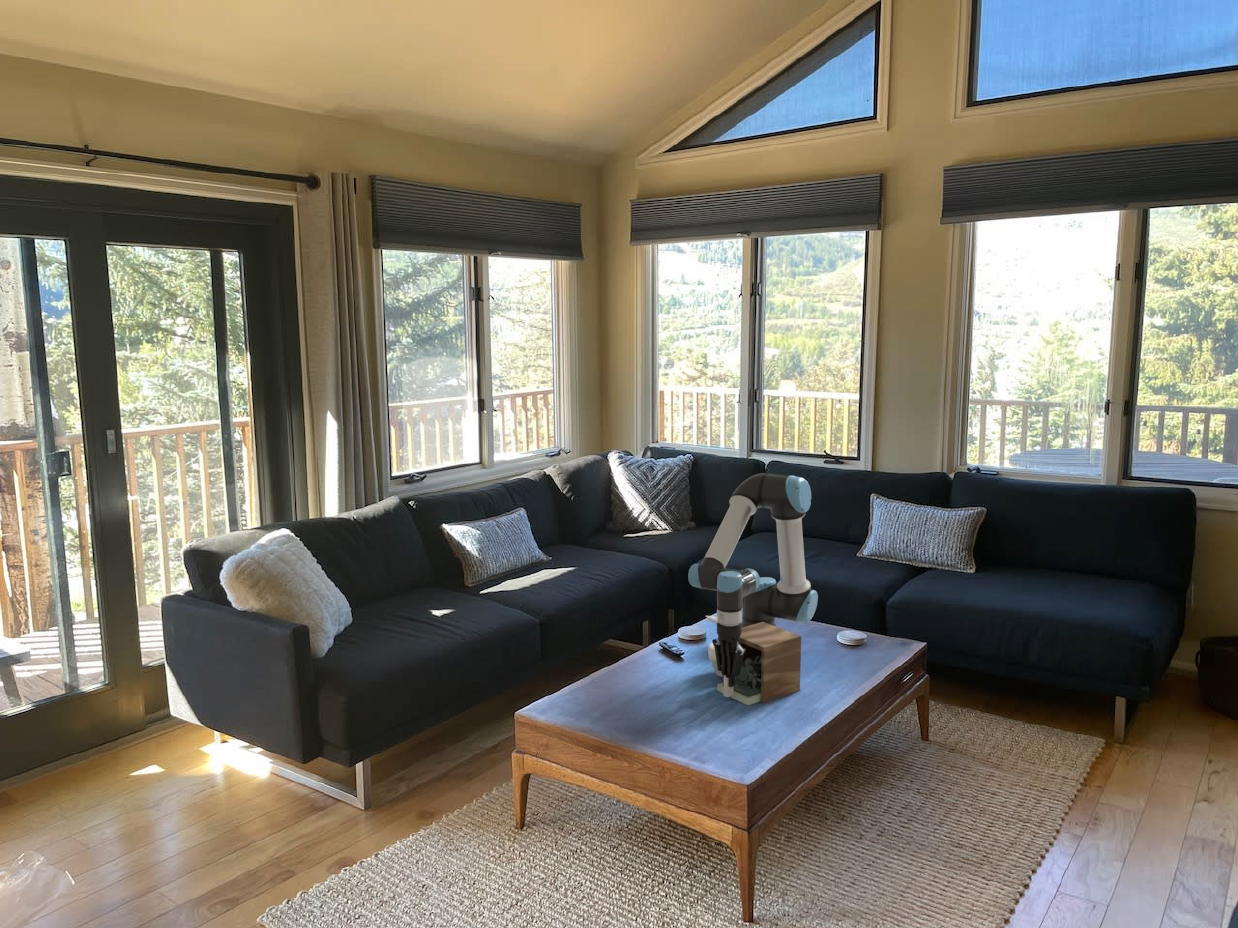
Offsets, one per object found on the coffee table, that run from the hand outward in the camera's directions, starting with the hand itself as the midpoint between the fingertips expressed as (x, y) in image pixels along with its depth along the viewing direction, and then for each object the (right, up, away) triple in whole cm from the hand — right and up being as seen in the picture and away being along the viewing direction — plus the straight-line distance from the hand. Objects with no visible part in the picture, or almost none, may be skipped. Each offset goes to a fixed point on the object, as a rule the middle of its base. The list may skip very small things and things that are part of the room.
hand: (728, 695), depth 296 cm
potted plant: (+1, +2, +20) cm, 20 cm away
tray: (+7, 0, +5) cm, 9 cm away
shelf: (+12, 0, +9) cm, 15 cm away
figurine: (+7, 0, +5) cm, 9 cm away
